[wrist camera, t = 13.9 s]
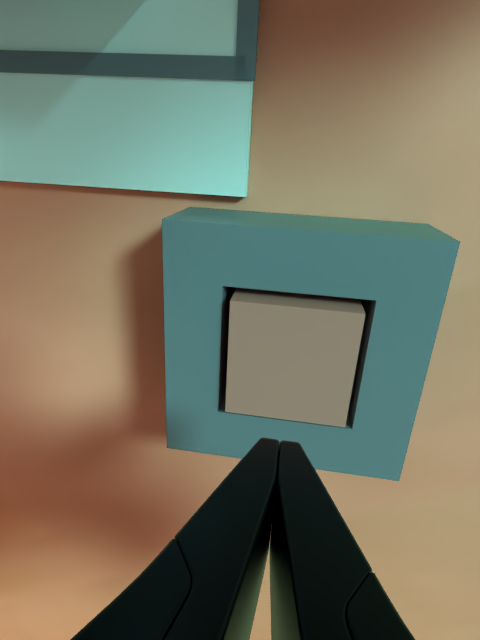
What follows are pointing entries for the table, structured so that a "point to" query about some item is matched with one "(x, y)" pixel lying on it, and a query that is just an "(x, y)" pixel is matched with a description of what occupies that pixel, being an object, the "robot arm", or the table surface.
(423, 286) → the button frame
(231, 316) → the button
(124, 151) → the paper sheet
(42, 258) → the table surface
